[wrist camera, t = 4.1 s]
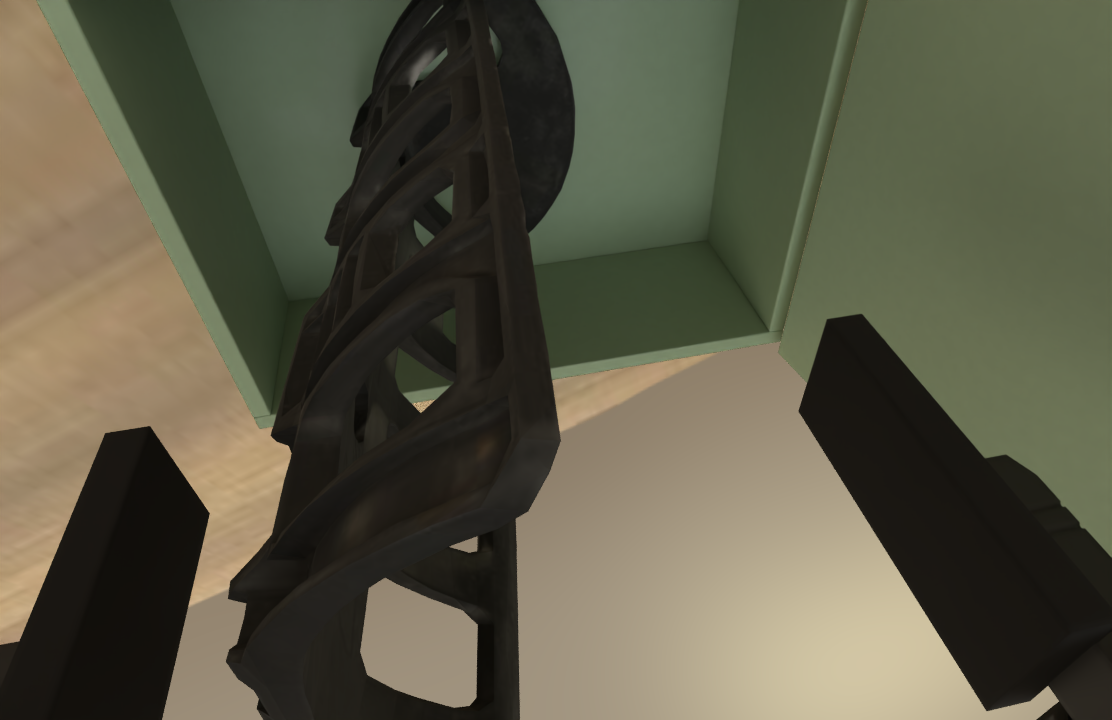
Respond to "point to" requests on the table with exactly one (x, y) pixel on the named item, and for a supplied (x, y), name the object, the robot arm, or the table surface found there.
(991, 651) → the robot arm
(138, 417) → the table surface
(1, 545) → the table surface
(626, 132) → the box
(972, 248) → the lid
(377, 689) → the holder
